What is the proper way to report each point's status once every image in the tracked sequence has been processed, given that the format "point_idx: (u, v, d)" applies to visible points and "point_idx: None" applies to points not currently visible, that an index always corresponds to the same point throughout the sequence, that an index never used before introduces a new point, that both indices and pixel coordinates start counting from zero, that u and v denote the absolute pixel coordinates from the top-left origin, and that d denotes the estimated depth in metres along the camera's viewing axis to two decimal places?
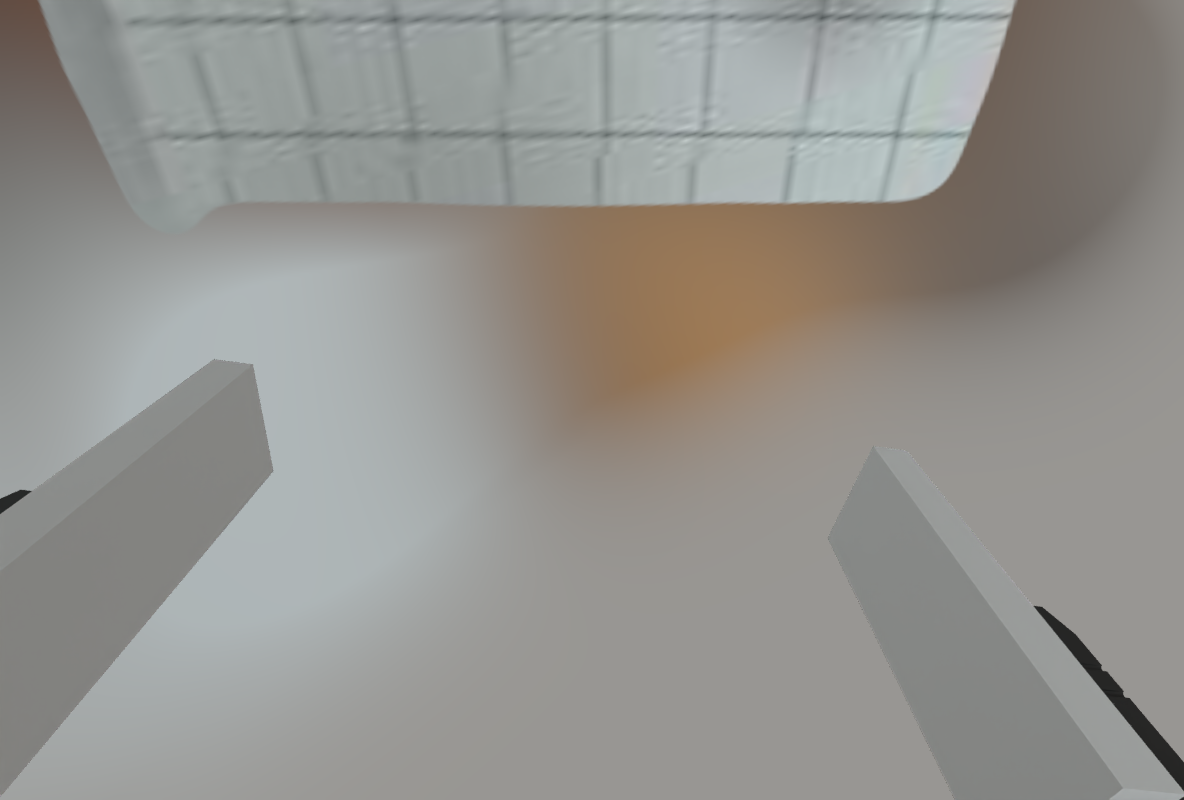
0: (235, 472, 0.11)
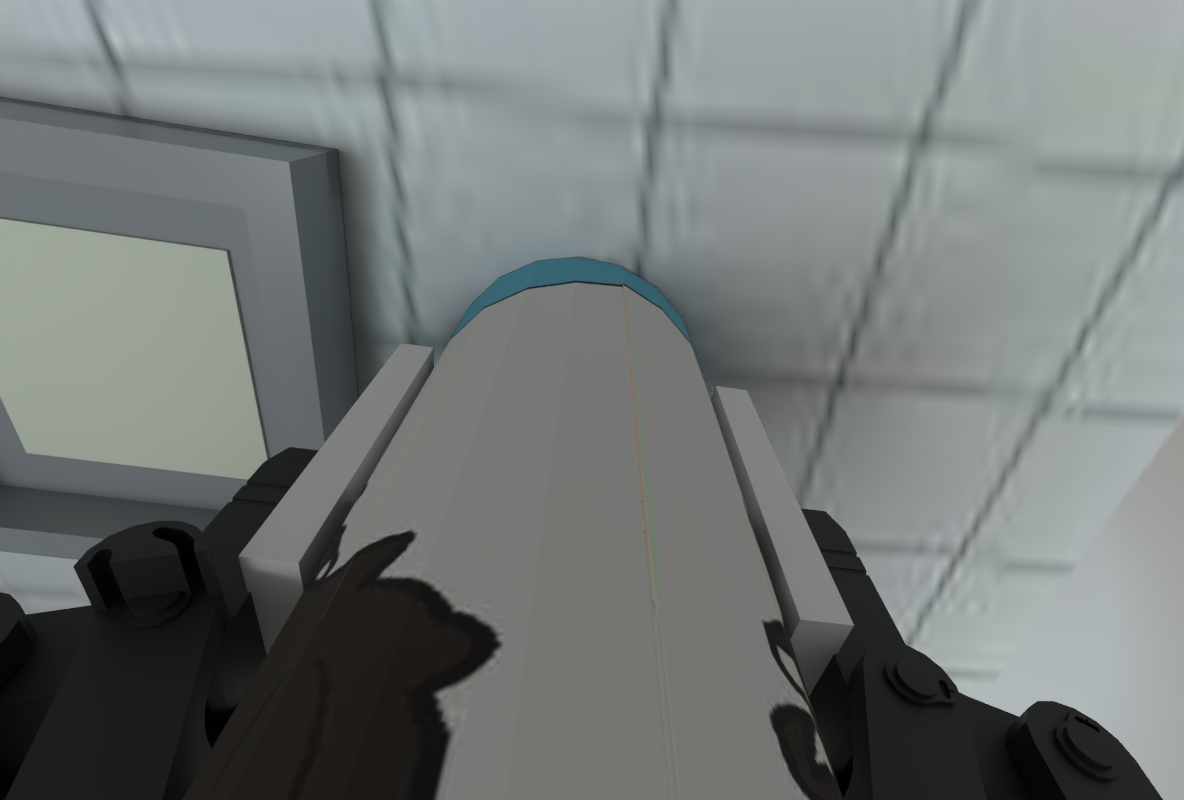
0: None
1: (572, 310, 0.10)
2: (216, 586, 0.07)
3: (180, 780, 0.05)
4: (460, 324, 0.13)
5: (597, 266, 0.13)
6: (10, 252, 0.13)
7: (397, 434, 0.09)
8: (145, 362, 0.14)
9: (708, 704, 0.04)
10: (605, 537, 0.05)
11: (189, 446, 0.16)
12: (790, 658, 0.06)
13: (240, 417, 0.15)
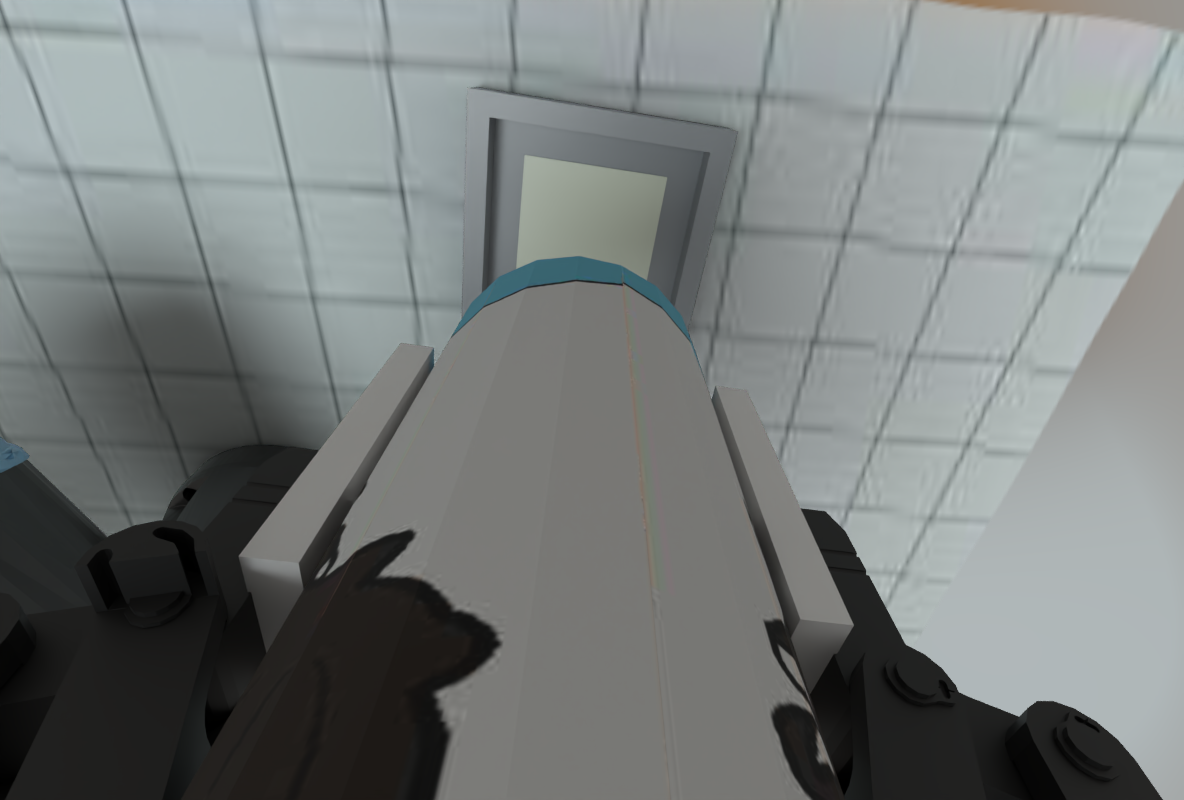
0: None
1: (573, 308, 0.10)
2: (216, 586, 0.07)
3: (180, 780, 0.05)
4: (460, 323, 0.13)
5: (597, 265, 0.13)
6: (561, 178, 0.27)
7: (397, 433, 0.09)
8: (602, 237, 0.28)
9: (709, 703, 0.04)
10: (607, 534, 0.05)
11: None
12: (791, 657, 0.06)
13: (639, 270, 0.29)
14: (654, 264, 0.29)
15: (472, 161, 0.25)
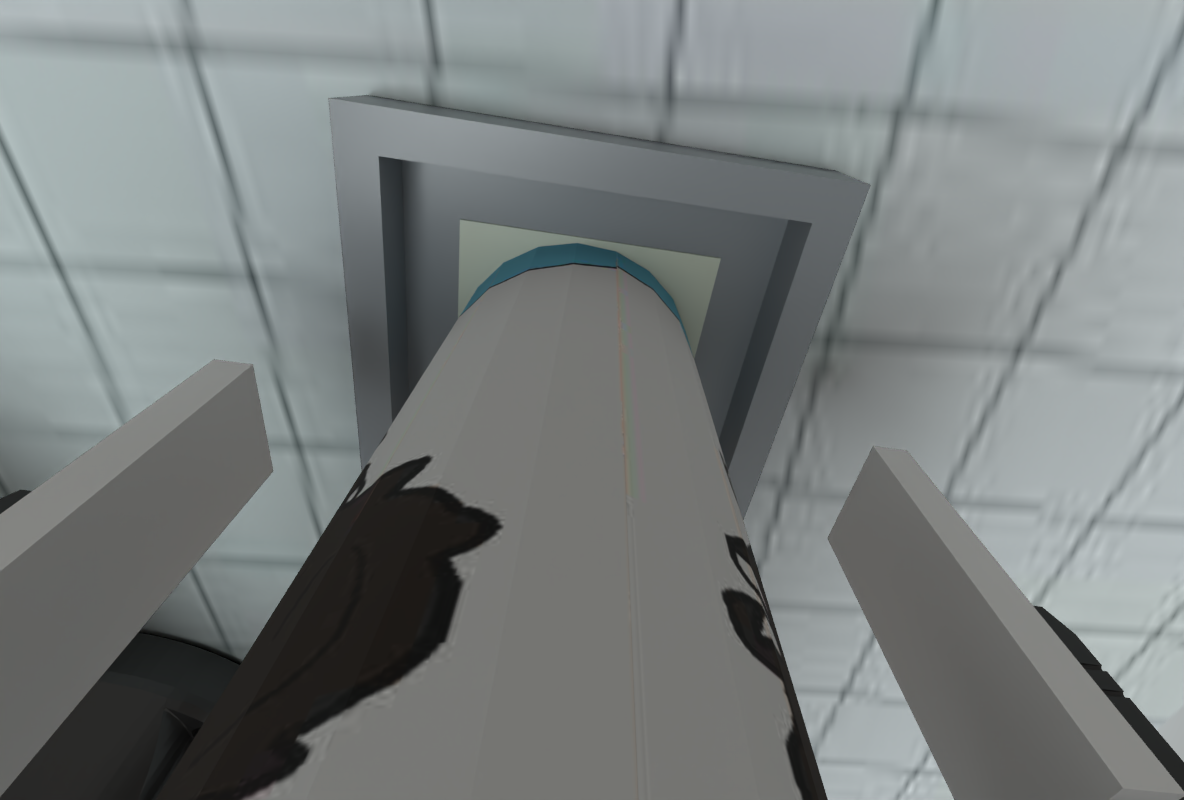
0: (235, 472, 0.11)
1: (569, 286, 0.12)
2: None
3: None
4: (467, 304, 0.14)
5: (594, 251, 0.14)
6: None
7: (412, 393, 0.10)
8: None
9: (668, 575, 0.05)
10: (590, 457, 0.07)
11: None
12: (748, 565, 0.07)
13: None
14: None
15: (354, 237, 0.13)
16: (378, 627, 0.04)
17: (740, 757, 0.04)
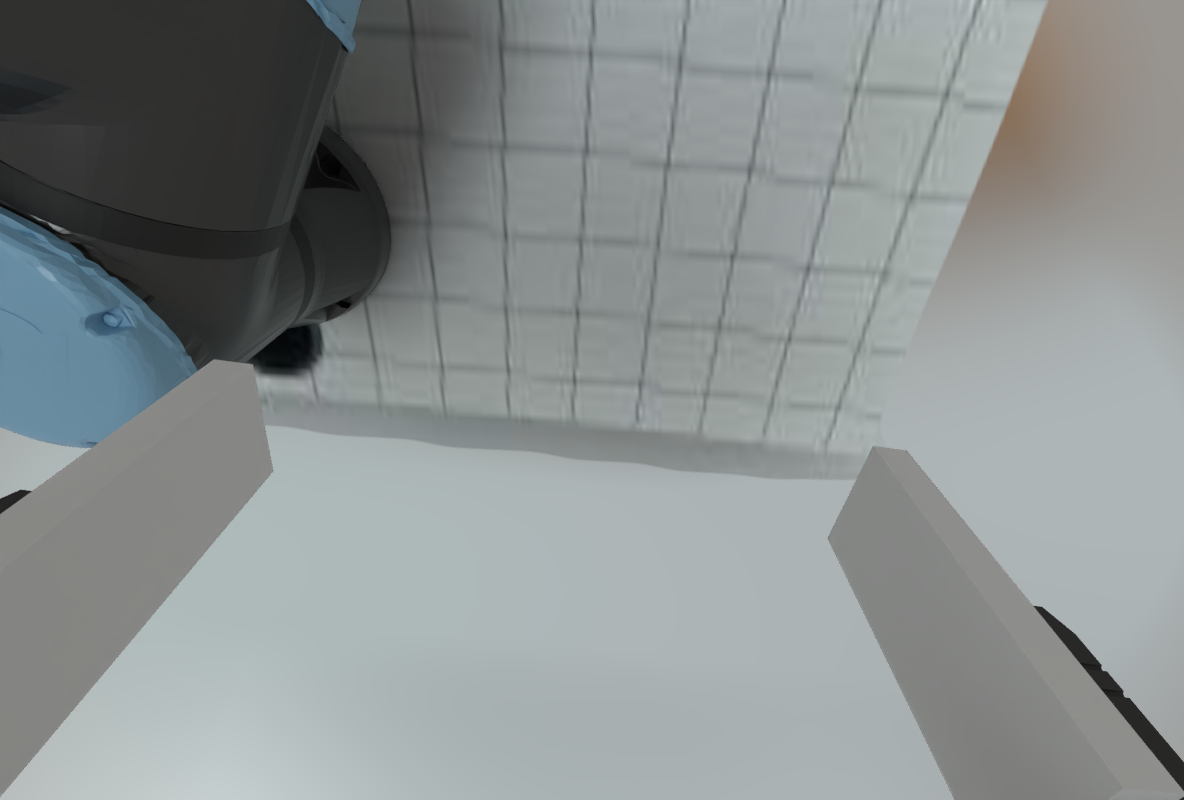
0: (235, 472, 0.11)
1: None
2: None
3: None
4: None
5: None
6: None
7: None
8: None
9: None
10: None
11: None
12: None
13: None
14: None
15: None
16: None
17: None
